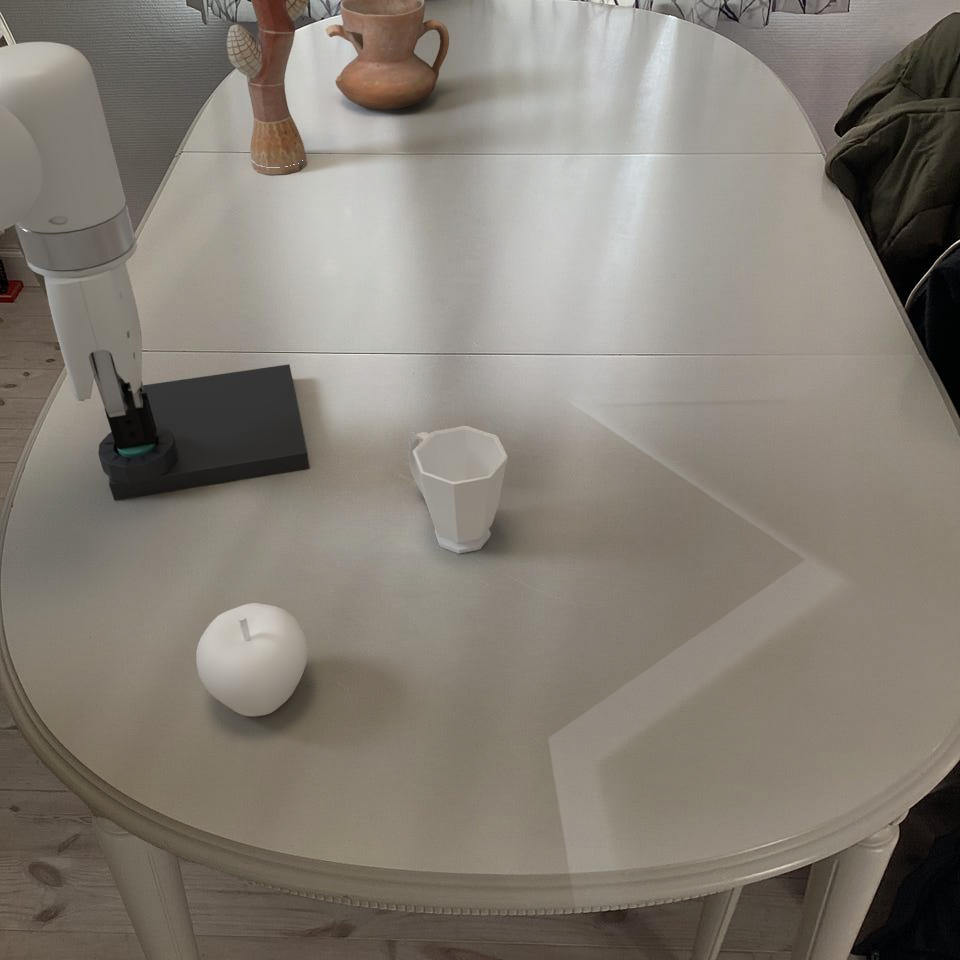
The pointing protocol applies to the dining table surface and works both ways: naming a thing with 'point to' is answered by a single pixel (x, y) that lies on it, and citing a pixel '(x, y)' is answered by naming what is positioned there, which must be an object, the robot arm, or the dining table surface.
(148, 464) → the scale
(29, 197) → the robot arm
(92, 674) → the dining table surface
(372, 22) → the ceramic jug
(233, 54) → the vase
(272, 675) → the plain white apple
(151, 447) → the button
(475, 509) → the cup
